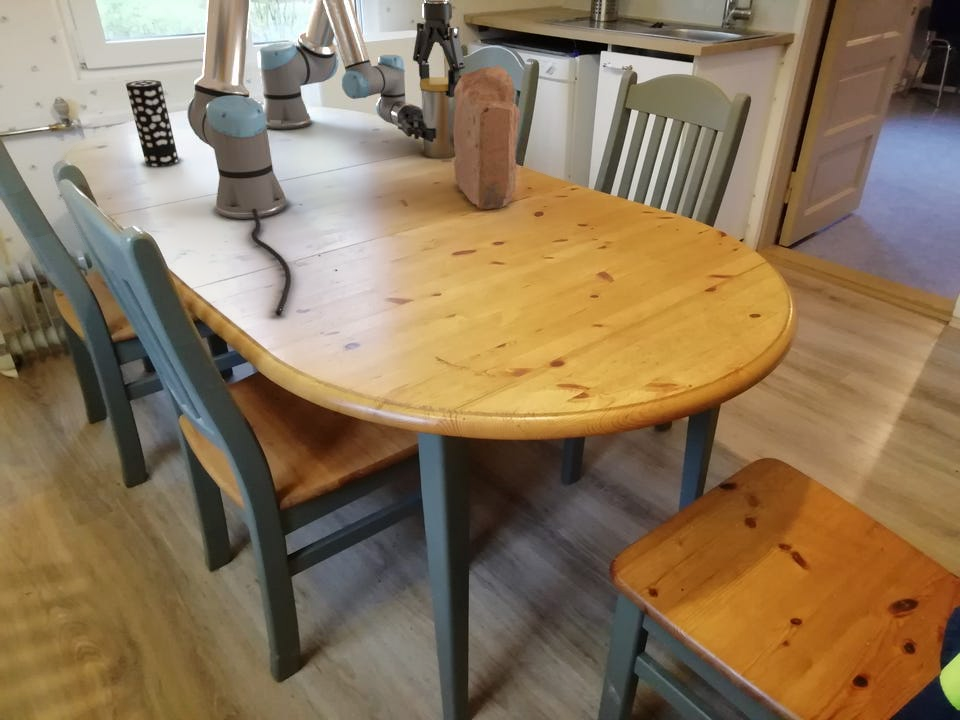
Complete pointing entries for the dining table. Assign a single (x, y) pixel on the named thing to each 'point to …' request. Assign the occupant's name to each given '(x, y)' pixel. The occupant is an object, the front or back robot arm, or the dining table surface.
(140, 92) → the black white spotted cylinder
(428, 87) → the lid
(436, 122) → the jar
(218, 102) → the front robot arm
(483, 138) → the stone
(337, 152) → the dining table surface
